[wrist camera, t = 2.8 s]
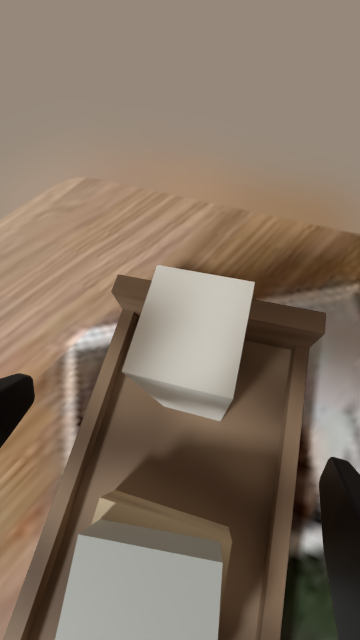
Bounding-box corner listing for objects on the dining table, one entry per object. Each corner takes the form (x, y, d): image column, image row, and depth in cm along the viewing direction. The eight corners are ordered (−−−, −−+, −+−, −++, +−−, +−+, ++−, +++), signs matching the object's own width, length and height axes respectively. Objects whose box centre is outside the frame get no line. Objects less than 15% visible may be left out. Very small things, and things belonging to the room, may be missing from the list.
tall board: (220, 421, 17) (232, 399, 9) (163, 406, 18) (121, 371, 9) (233, 357, 19) (254, 282, 10) (180, 345, 19) (157, 264, 11)
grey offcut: (209, 699, 11) (209, 766, 9) (70, 663, 12) (37, 717, 10) (219, 541, 13) (222, 562, 11) (100, 519, 14) (78, 534, 11)
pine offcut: (202, 681, 13) (201, 732, 11) (74, 626, 14) (48, 661, 12) (228, 526, 15) (232, 541, 13) (114, 489, 16) (99, 497, 14)
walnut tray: (253, 768, 13) (275, 927, 8) (13, 656, 15) (-63, 740, 11) (301, 340, 20) (326, 313, 16) (135, 306, 22) (118, 274, 18)
